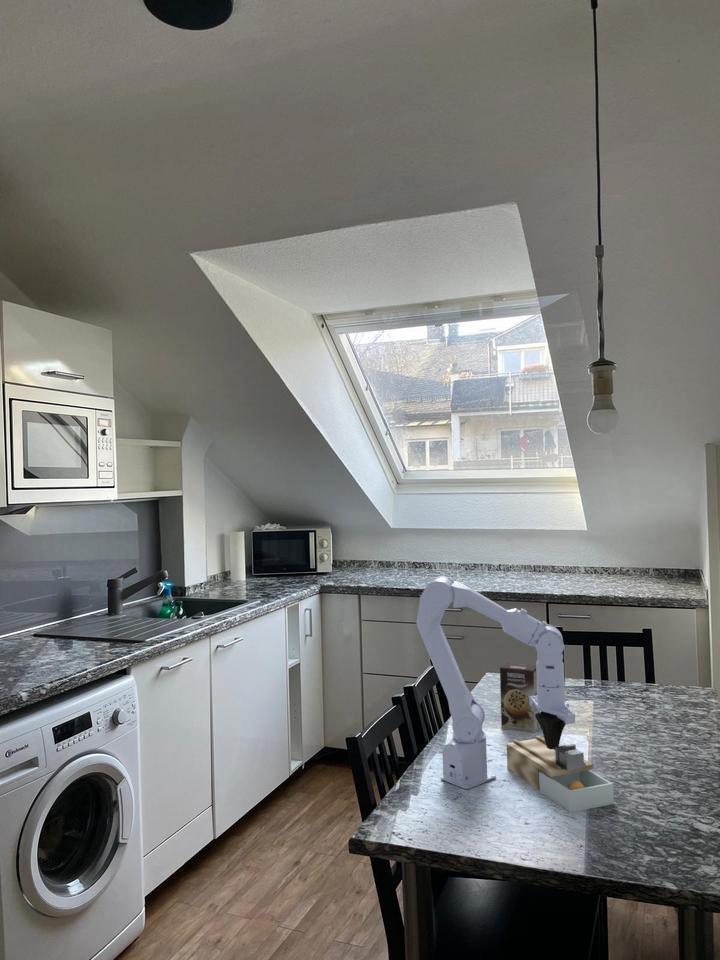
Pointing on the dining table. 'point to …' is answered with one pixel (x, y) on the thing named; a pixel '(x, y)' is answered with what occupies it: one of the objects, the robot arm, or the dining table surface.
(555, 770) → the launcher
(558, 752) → the brushed steel stepped cube
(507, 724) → the coffee box
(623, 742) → the dining table surface
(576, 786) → the ball
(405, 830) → the dining table surface
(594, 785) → the open box
